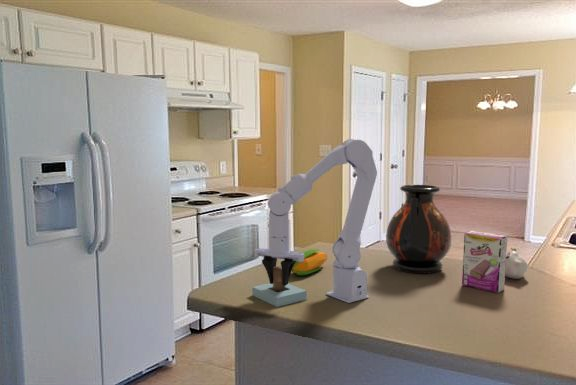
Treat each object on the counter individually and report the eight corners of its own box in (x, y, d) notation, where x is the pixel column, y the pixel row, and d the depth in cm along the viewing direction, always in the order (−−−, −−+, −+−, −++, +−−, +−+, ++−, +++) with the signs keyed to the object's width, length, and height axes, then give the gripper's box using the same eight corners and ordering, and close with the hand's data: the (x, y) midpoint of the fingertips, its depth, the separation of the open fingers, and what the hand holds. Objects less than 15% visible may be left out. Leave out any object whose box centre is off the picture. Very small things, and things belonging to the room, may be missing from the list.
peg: (287, 291, 143) (287, 266, 142) (282, 294, 140) (282, 269, 139) (276, 289, 144) (276, 265, 143) (270, 293, 141) (270, 268, 140)
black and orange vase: (394, 257, 187) (396, 182, 184) (454, 264, 178) (458, 185, 175) (377, 271, 168) (379, 188, 165) (444, 280, 159) (448, 191, 155)
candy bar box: (461, 285, 153) (463, 232, 151) (468, 282, 157) (470, 230, 155) (498, 293, 146) (501, 237, 144) (505, 290, 149) (508, 235, 147)
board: (306, 299, 140) (306, 290, 140) (277, 307, 134) (277, 297, 134) (280, 288, 150) (280, 280, 150) (252, 295, 144) (252, 286, 144)
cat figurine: (507, 242, 170) (515, 247, 155) (529, 256, 168) (539, 262, 153) (490, 265, 171) (496, 272, 156) (512, 279, 169) (520, 288, 155)
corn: (283, 253, 162) (317, 242, 178) (282, 276, 163) (315, 263, 179) (303, 258, 157) (335, 246, 174) (301, 281, 159) (333, 267, 175)
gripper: (308, 235, 141) (308, 283, 142) (262, 231, 147) (262, 276, 148) (298, 240, 134) (298, 290, 136) (250, 235, 140) (250, 283, 142)
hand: (279, 283), depth 142 cm, fingers closed on peg, 3 cm apart
